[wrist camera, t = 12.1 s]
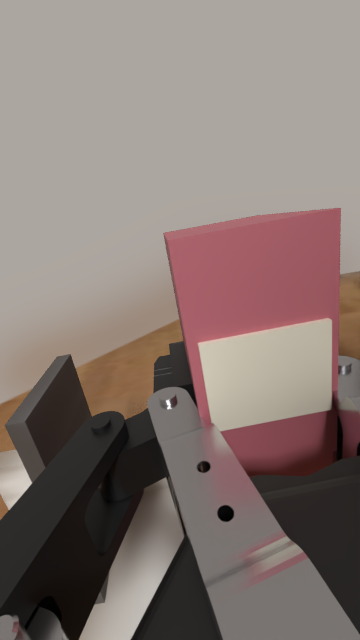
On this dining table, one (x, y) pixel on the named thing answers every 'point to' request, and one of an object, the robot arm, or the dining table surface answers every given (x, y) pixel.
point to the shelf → (145, 528)
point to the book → (263, 334)
